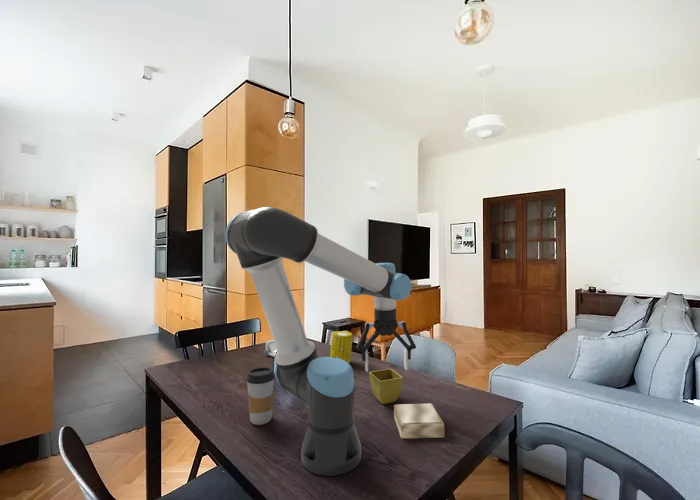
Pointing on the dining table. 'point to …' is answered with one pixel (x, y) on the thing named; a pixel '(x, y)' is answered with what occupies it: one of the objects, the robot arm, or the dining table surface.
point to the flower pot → (386, 385)
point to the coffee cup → (260, 394)
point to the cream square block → (418, 421)
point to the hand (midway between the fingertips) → (386, 369)
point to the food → (341, 345)
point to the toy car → (270, 348)
